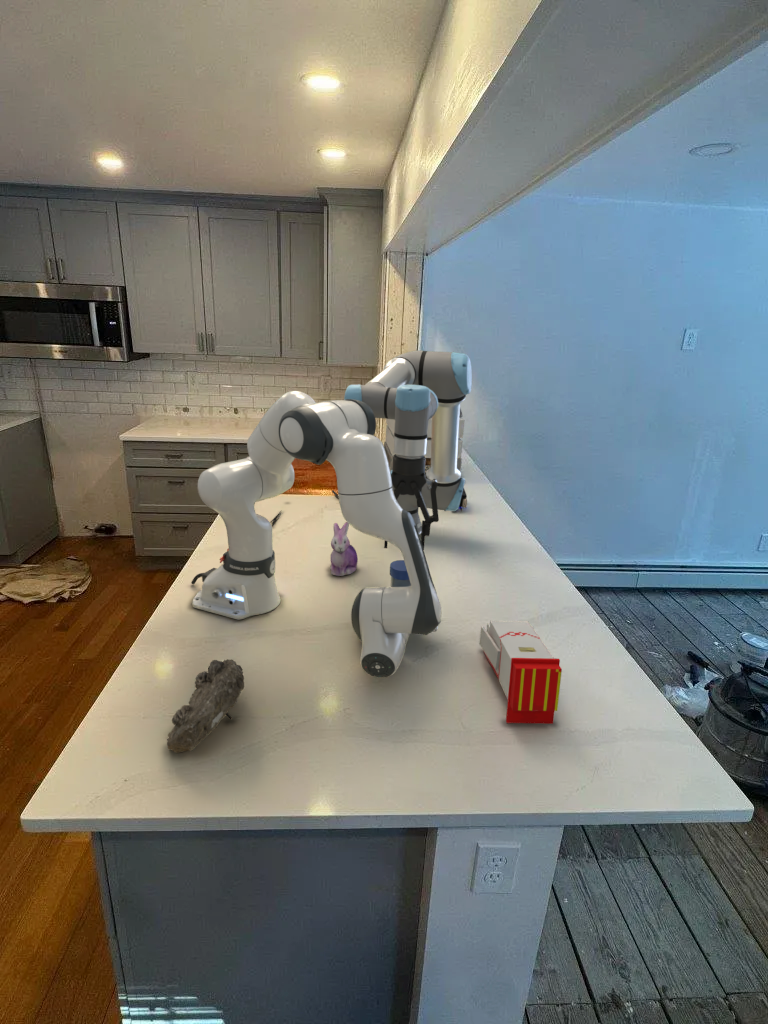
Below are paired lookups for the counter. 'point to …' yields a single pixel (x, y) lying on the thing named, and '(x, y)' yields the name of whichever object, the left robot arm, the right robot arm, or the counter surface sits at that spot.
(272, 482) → the left robot arm
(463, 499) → the figurine character
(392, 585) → the grey tall cylinder
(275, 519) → the feather
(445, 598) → the counter surface
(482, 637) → the toy
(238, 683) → the fossil
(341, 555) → the figurine
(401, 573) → the lid
